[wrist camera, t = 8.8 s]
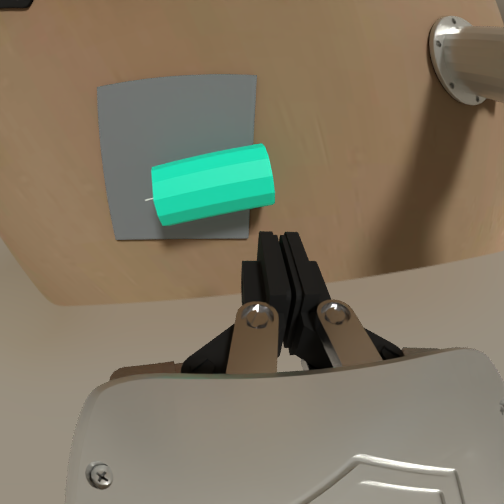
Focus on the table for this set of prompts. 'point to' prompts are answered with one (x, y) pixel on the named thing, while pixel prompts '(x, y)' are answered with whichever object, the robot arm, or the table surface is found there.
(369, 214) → the table surface
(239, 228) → the mat
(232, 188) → the candle
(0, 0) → the cell phone
